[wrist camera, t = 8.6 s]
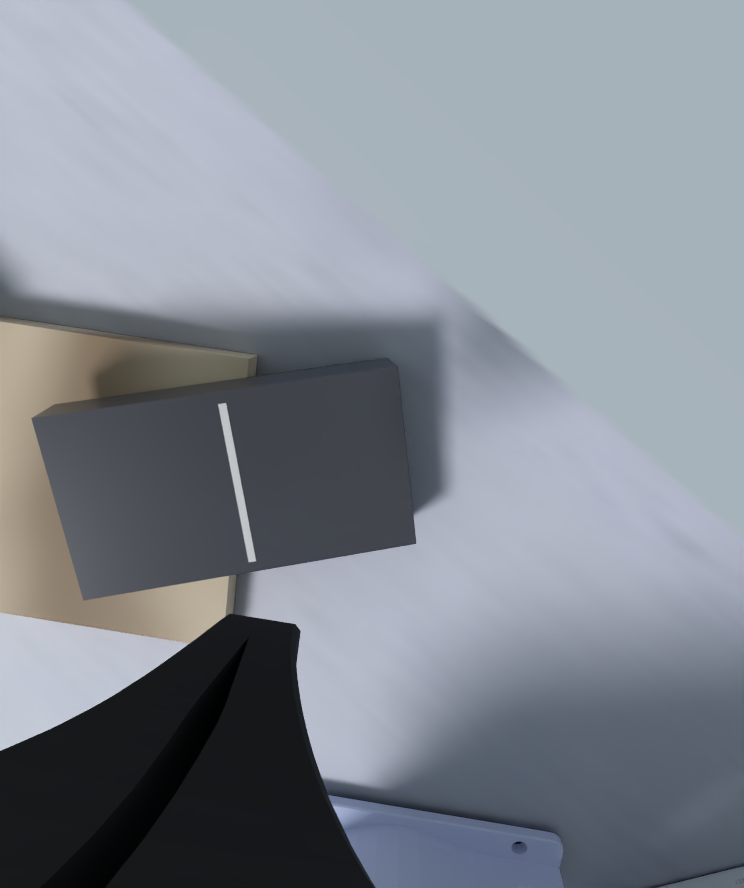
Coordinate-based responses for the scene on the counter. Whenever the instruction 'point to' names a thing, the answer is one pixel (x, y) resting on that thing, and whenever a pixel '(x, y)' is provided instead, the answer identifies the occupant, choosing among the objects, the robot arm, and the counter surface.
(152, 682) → the robot arm
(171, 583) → the domino
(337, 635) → the counter surface
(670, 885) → the supplement box
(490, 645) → the counter surface
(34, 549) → the board
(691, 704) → the counter surface
